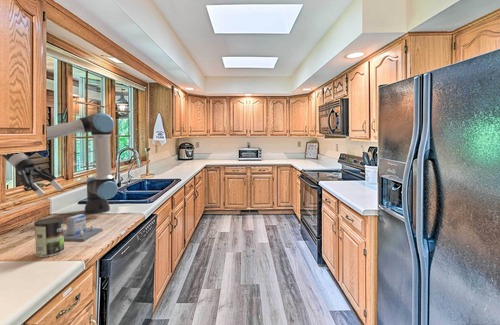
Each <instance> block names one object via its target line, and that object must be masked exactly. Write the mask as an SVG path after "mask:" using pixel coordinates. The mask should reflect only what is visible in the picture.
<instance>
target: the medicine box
mask: <svg viewBox="0 0 500 325" xmlns="http://www.w3.org/2000/svg"><path fill="white" fill-rule="evenodd" d="M65 220H66V229H67V235H77V234H79V233H80V231H83V232H84V231H86V228H87V226H86V223H87V222H86V214H83V213H81V214H79V213H78V214H76V215H72V216H69V217H66V219H65Z"/></svg>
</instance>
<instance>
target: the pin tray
mask: <svg viewBox="0 0 500 325" xmlns="http://www.w3.org/2000/svg"><path fill="white" fill-rule="evenodd" d="M63 231H64V242H66V241H67V242H86V241H87V240H89V239H91V238H92V237H93V238H94V237H95V236H96V235H98V234H100V233H101V232H103V231H104V229H103V228H98V227H97V228H95V227H94V225H90V227H86V231H84V232H83V231H80V233H79V234H77V235H67V228H66V229H65V230H64V229H63Z"/></svg>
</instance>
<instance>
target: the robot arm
mask: <svg viewBox="0 0 500 325" xmlns="http://www.w3.org/2000/svg"><path fill="white" fill-rule="evenodd" d="M46 127H47V140H46V141H49V140H53V139H57V138H62V137H66V136H70V135H75V134H79V133H81V134H86V133H90V134H91V136H92V137H93V139H94V155H95V170H96V172H95V173H96V175H95V176H93V177H87V179H86V198H87V200H86V203H85V206H84V213H87V214H98V213H105V212H108V211H110V210H111V207H110V204H109V201H108V200H109V199H112V198H114V197H115V196H116V195H117V194H118V190H119V189H118V185H117V183H116V182H115V176H114V175H112V162H111V159H112V158H111V146H110V137H111V136H112V135H113V133H112V132H113V131H112V130H113V129H114V127H115V122H114V119H113V117H112V116H111V115H110V114H108V113H103V112H98V113H92V114H88V115H86V116H84V117H83V116H82V117H79V118H77V119H76V120H73V121H69V122H64V123H63V122H62V123H59V124H54V125H48V126H46ZM1 156H2V157H3V158H4V159H5V160H6V161H7V162H8V163H9V164H10V165H11V166H12V167H14V168H15V170H16V171H17V173H16V174H17V175H18V177H19V178H20V181H21V182H22V183H21V184H22V185H23V187H24V188H26V189H31V190H32V191H33V192H35V193H36V195H38V196H39V197H40V198H41V197H42V196H44V195H45V193H46V192H45V191H44V190H43V189H42V188H40V187H39V186H38V185H37V184H36V183H34V178H40V179H42V180H45V181H48V182H49V184H50V185H51V186H52V187H53V188H54V189H56V191H58V192H60V191H61V190H62V189H63V188H64V187H63V186H61V185H60V183H59V182H57V180H56V178H57V176H55V175H53V174H52V173H51V172H50V173H49V172H48V171H46V170H44V169H43V167H40V166H38V167H35V163H34V162H33V161H32V160H31V159H30V158H29V157H28V156H27V155H26V154H25V153H24V152H23V153H19V154H7V155H1Z"/></svg>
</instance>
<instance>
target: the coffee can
mask: <svg viewBox="0 0 500 325" xmlns="http://www.w3.org/2000/svg"><path fill="white" fill-rule="evenodd" d="M33 223H34V224H33V225H34V236H35V237H34V238H35V239H34V240H35V255H36V257H39V258H49V257H54V256H58V255H60V254H62V253H64V252H63V251H65V241H64V218H63V217H47V218H41V219H38V220H35V221H34V222H33ZM57 254H58V255H57ZM53 255H54V256H53ZM48 256H49V257H48Z"/></svg>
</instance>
